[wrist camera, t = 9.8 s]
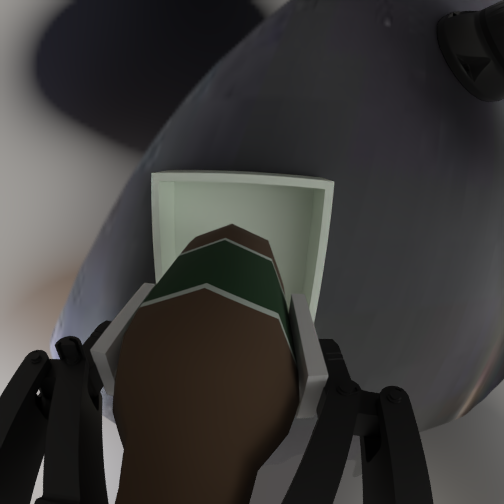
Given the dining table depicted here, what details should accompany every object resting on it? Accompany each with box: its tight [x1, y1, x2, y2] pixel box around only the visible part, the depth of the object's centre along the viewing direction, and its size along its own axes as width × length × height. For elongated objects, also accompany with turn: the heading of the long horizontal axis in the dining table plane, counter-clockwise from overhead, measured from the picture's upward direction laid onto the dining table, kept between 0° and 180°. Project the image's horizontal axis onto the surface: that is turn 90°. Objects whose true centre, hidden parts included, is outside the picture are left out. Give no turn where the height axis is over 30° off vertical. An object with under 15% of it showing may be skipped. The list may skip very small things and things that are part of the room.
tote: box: [151, 170, 334, 323], centre depth 31 cm, size 17×26×6 cm, turn 177°
